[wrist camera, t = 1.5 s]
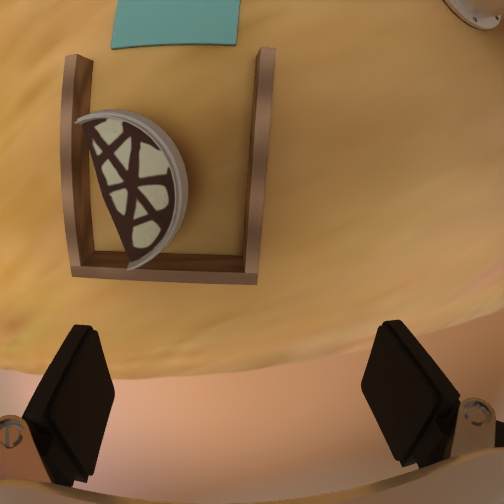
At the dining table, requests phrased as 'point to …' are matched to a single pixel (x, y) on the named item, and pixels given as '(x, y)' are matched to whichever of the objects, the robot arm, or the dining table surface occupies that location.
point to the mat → (175, 23)
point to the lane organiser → (163, 264)
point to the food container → (138, 179)
